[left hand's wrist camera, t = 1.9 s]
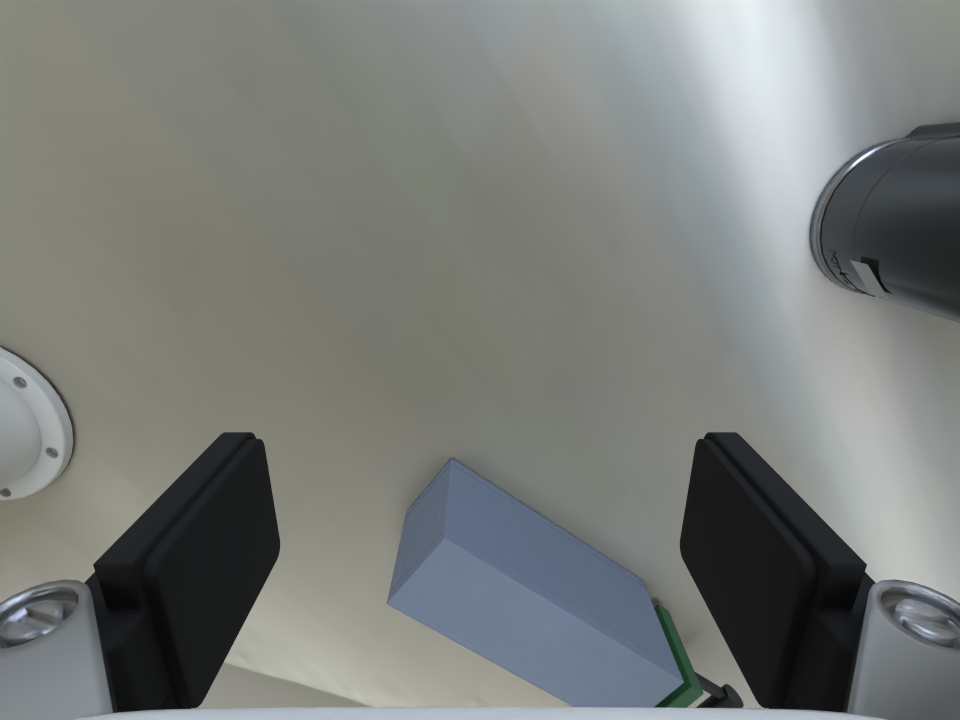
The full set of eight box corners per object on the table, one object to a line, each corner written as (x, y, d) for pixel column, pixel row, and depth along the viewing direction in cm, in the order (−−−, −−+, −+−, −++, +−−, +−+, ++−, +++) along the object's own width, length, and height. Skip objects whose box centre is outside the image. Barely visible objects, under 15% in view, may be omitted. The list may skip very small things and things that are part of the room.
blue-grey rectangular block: (643, 580, 43) (684, 682, 34) (594, 626, 44) (621, 733, 36) (451, 457, 39) (444, 538, 30) (405, 512, 40) (386, 604, 32)
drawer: (715, 640, 44) (758, 726, 37) (674, 674, 45) (708, 763, 38) (491, 497, 39) (493, 567, 32) (452, 541, 40) (447, 616, 33)
